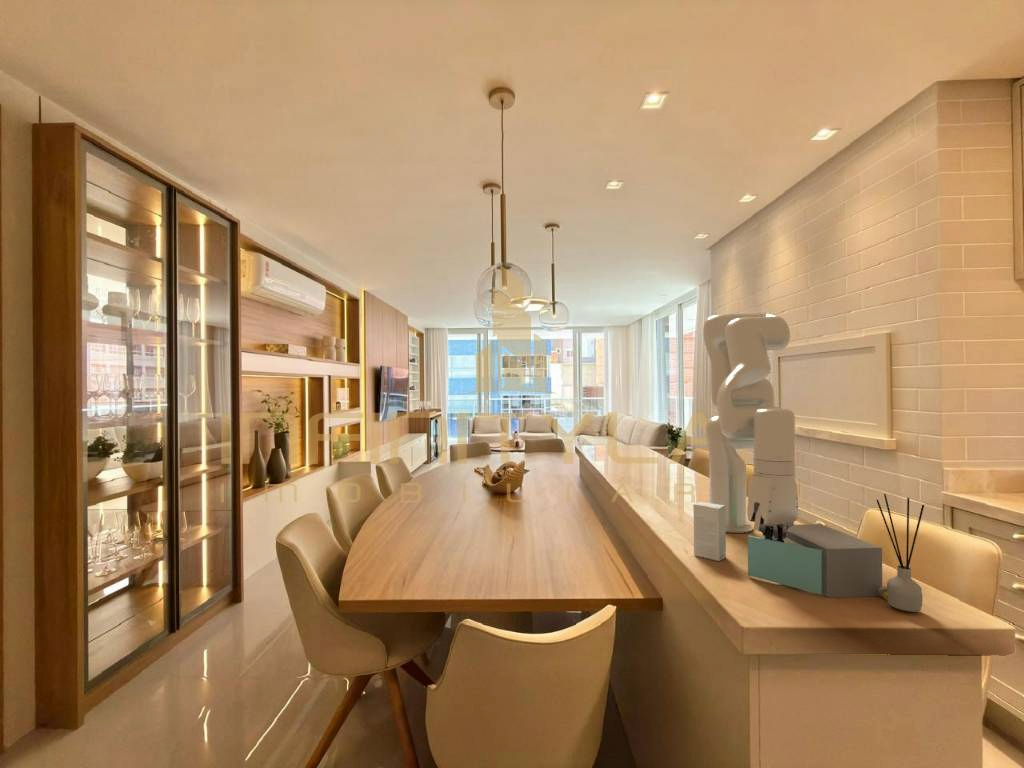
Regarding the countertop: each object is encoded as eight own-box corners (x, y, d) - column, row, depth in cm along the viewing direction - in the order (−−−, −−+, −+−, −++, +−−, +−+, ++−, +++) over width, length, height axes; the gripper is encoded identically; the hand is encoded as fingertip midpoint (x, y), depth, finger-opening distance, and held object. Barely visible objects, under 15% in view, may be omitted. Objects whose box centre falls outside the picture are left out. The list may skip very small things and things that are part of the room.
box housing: (772, 566, 105) (772, 525, 105) (820, 565, 106) (820, 524, 106) (826, 597, 89) (825, 548, 89) (882, 595, 90) (882, 547, 90)
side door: (822, 593, 90) (822, 550, 90) (821, 594, 89) (821, 551, 89) (749, 574, 99) (749, 535, 99) (748, 575, 99) (747, 536, 99)
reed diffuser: (941, 622, 80) (940, 501, 80) (899, 622, 80) (899, 501, 80) (892, 596, 90) (891, 489, 90) (855, 596, 90) (855, 489, 90)
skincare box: (726, 557, 111) (726, 505, 111) (719, 562, 108) (719, 508, 108) (700, 551, 115) (700, 501, 115) (692, 555, 112) (692, 504, 112)
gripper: (781, 463, 105) (781, 547, 105) (732, 467, 99) (733, 557, 99) (815, 468, 99) (815, 558, 98) (765, 473, 92) (766, 569, 92)
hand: (774, 557), depth 99 cm, fingers closed
